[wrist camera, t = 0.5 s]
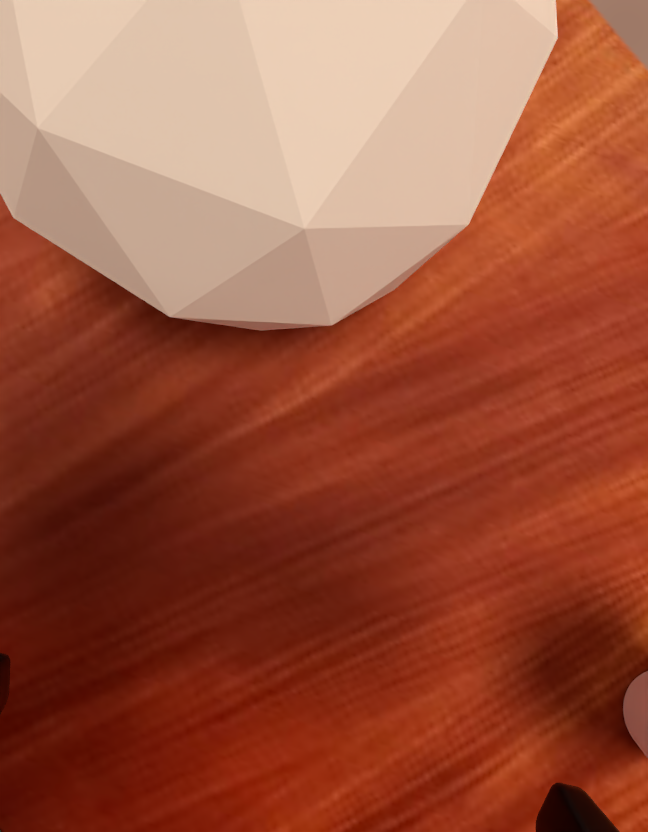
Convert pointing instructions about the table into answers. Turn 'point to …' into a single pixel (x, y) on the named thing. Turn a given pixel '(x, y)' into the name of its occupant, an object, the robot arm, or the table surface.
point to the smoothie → (637, 711)
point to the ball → (260, 141)
